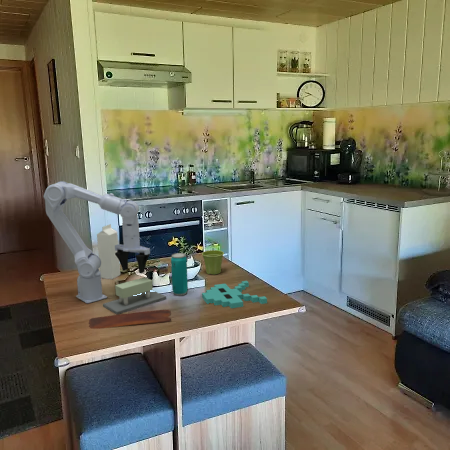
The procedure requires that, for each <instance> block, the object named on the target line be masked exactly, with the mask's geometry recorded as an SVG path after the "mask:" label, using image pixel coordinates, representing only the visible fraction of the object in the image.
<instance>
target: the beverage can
mask: <svg viewBox="0 0 450 450" xmlns="http://www.w3.org/2000/svg"><path fill="white" fill-rule="evenodd" d="M186 256H187V255H186V254H185V253H182V252H179V253H172V254H171V259H170V263H171V264H170V265H171V267H170V269H171V284H172V285H171V288H172V289H171V290H172V292H173V294H174V295H175V296H185V295H186V294H187V293H188V289H189V285H188V281H189V280H188V263H187V262H188V261H187V259H188V258H187V257H186Z"/></svg>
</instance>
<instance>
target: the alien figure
mask: <svg viewBox="0 0 450 450" xmlns="http://www.w3.org/2000/svg"><path fill="white" fill-rule="evenodd" d="M246 288H250V283H249V281H248V280H242V281H241V282H240V283H238V284H237V285H236V286H234V287H233V288H230V287H229V286H228V285H227V283H219V284H214V285H213V286H212V287H210V289H206V290H205V291H206V292H202V293H201V298H202V299H203V301H204V302H205V303H206V304H207V305H210V304H209V303H211V304H213V303H214V304H213V305H214V306H222V307H223V308H225V307H229V308H230V309H236V308H238V309H239V308H243V307H244V302H249V301H250V302H252V303H253V304H254V303H259V304H260V305H264V304H268V298H267V297H266V296H263V295H262V296H258V295H257V294H254V295H250V294H249V293H242V292H243V290H244V291H245V290H246Z"/></svg>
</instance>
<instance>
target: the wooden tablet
mask: <svg viewBox="0 0 450 450" xmlns="http://www.w3.org/2000/svg"><path fill="white" fill-rule="evenodd" d="M171 315H172V312H171V310H170V309H157V310H145V311H138V312H129V313H121V314H118V315H117V314H114V315H107V316H105V315H104V316H98V317H92V318H89V320H88V327H89V329H90V330H91V329H93V330H97V329H98V330H99V329H100V330H103V329H111V328H119V327H125V326H126V327H128V326H137V325H138V326H139V325H151V324H160V323H161V324H163V323H169V322H172V317H170V316H171Z"/></svg>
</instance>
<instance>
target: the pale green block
mask: <svg viewBox="0 0 450 450" xmlns="http://www.w3.org/2000/svg"><path fill="white" fill-rule="evenodd" d="M114 287H115V289H114V290H115V295H116V296H118V298H119V297H121V298H127V297H130V296H133V295H137V294H140V293H143V292H147V291H150V290H153V280H152V279H150V278H147V277H141V278H137V279H133V280H130V281H126V282H122V283H118V284H115V286H114ZM153 291H154V290H153Z"/></svg>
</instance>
